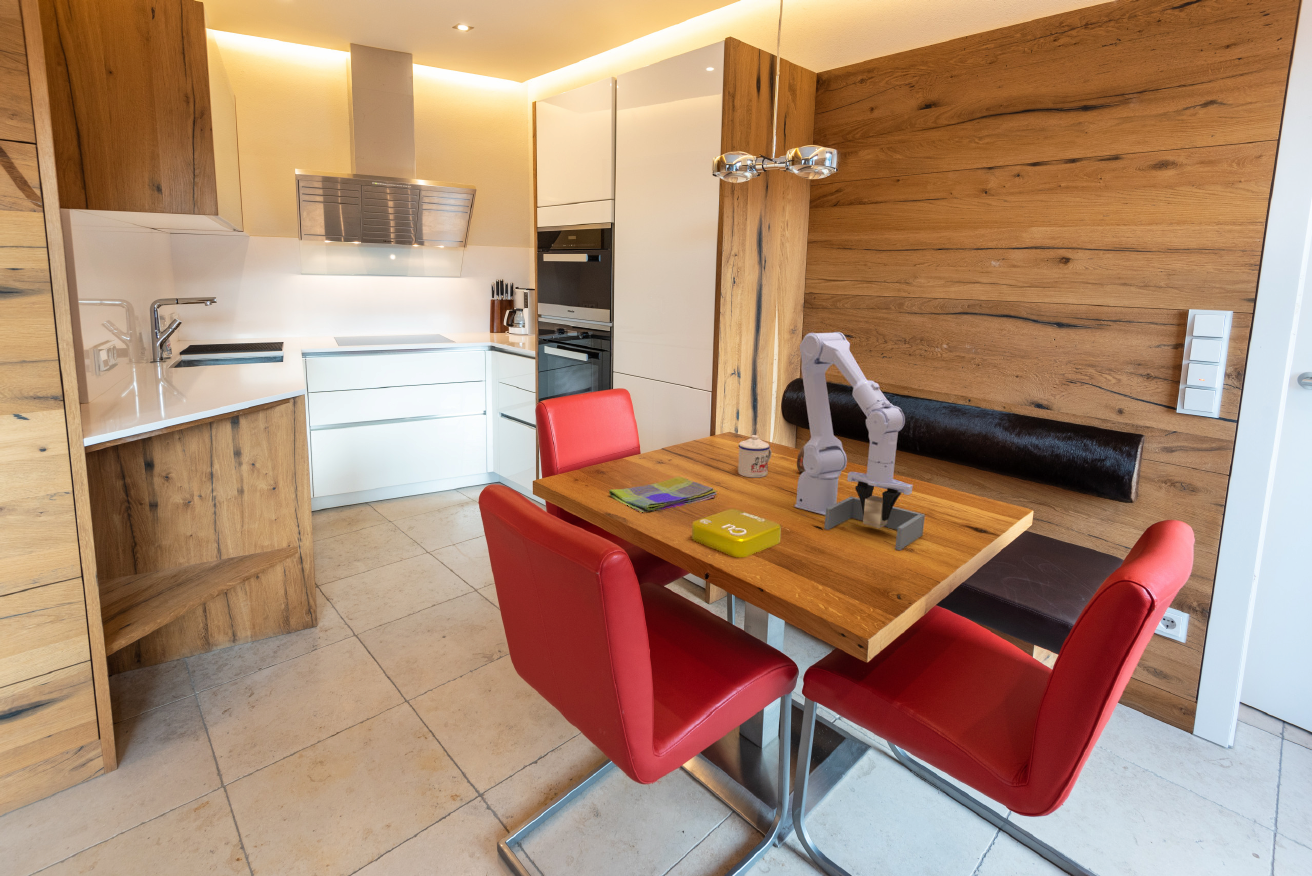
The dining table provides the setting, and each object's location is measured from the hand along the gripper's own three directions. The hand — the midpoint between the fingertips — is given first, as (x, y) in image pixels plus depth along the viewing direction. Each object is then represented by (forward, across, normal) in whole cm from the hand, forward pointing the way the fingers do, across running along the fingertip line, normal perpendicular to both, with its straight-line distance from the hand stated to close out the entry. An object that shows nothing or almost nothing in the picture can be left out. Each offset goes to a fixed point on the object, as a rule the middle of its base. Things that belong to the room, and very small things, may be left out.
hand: (875, 517), depth 154 cm
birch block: (+2, 0, 0) cm, 2 cm away
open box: (+3, 0, -1) cm, 4 cm away
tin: (+4, -36, +35) cm, 51 cm away
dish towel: (+4, -51, -16) cm, 54 cm away
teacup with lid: (+4, -46, +20) cm, 51 cm away
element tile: (+4, -20, -27) cm, 34 cm away
